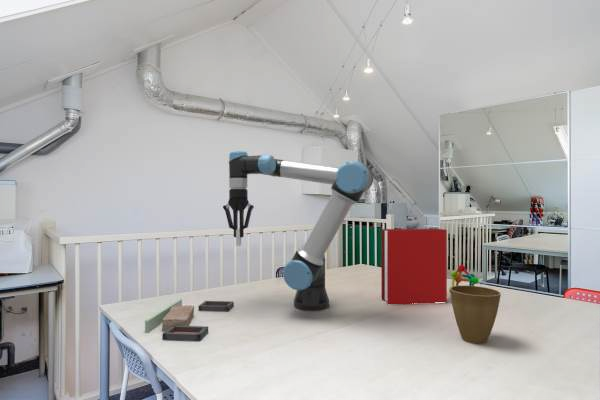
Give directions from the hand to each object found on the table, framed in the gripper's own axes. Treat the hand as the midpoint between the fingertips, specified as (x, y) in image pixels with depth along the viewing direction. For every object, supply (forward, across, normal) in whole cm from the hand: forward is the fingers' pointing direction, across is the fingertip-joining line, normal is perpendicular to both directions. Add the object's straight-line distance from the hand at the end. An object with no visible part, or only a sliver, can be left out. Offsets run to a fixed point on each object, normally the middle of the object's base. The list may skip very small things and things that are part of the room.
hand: (238, 245), depth 157 cm
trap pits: (+26, +10, +17) cm, 33 cm away
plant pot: (+27, -84, +29) cm, 93 cm away
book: (+27, -75, -16) cm, 81 cm away
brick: (+27, +17, +20) cm, 38 cm away
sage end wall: (+26, +24, +17) cm, 39 cm away
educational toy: (+27, -100, -28) cm, 108 cm away
